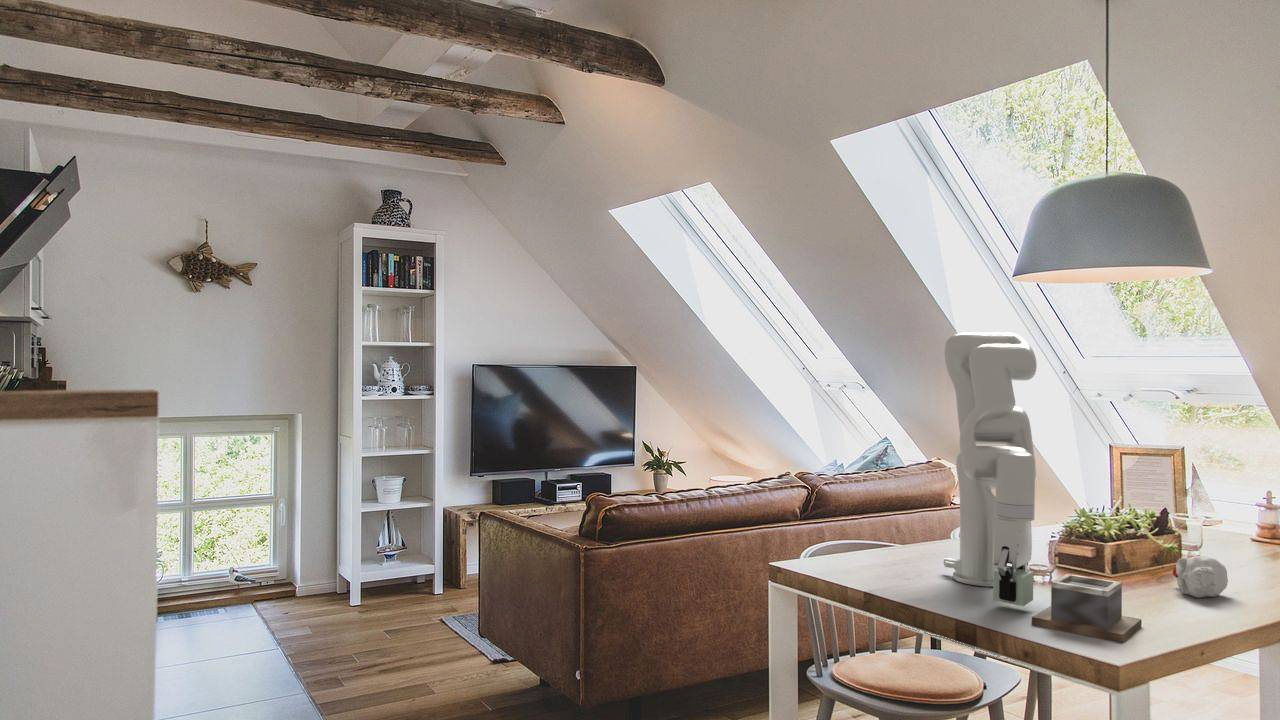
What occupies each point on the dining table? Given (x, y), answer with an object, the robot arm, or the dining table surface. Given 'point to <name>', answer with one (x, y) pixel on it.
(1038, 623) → the pillar base
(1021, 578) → the sage block
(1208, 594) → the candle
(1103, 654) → the dining table surface
